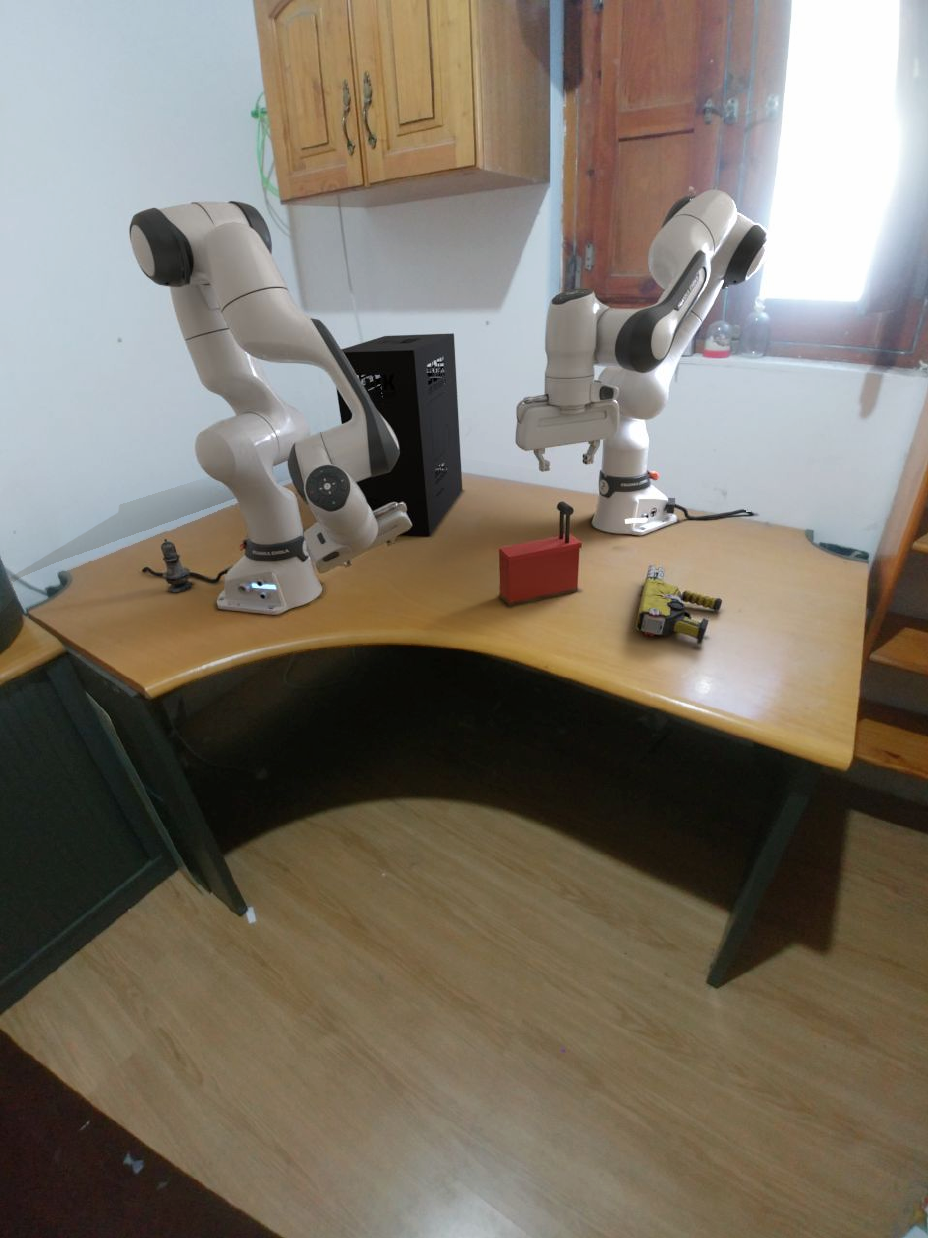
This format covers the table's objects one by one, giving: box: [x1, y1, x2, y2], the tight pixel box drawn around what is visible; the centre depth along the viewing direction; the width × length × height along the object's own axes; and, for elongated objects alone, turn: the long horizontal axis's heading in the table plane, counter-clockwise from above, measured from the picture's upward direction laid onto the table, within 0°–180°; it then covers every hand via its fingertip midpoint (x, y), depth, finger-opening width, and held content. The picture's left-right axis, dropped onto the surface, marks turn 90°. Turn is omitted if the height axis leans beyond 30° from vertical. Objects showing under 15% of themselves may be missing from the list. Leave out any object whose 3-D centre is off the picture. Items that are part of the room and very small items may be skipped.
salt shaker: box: [160, 538, 194, 593], centre depth 136 cm, size 6×6×12 cm
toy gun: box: [635, 564, 723, 645], centre depth 117 cm, size 5×24×15 cm
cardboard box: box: [335, 332, 463, 537], centre depth 165 cm, size 38×20×45 cm, turn 167°
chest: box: [498, 548, 580, 608], centre depth 125 cm, size 16×5×10 cm, turn 110°
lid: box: [498, 501, 583, 562], centre depth 121 cm, size 16×5×9 cm, turn 110°
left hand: (368, 552), depth 121 cm, fingers open, 8 cm apart
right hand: (566, 466), depth 116 cm, fingers open, 8 cm apart
